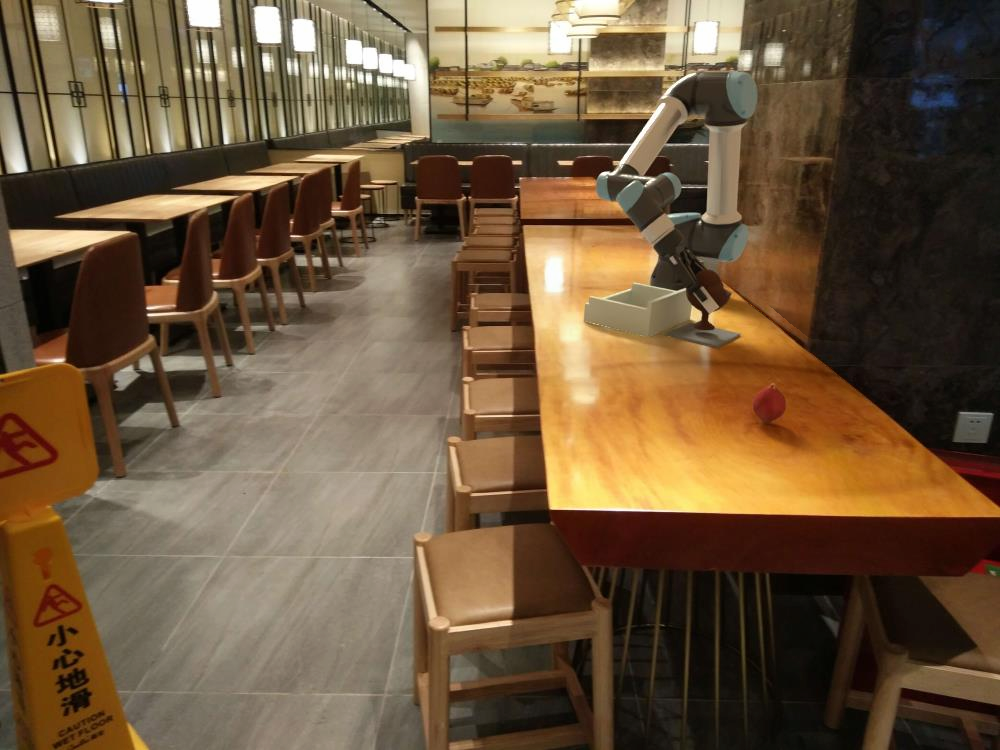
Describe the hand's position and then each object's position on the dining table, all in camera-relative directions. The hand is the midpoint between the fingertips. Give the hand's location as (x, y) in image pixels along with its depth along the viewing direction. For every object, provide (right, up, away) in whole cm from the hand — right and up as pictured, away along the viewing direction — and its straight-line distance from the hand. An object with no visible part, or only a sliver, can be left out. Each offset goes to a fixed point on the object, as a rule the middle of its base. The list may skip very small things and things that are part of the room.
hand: (718, 305), depth 185 cm
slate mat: (-3, -7, +4) cm, 9 cm away
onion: (-5, -27, -47) cm, 54 cm away
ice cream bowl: (-3, -5, +3) cm, 7 cm away
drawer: (-17, -3, +15) cm, 23 cm away
